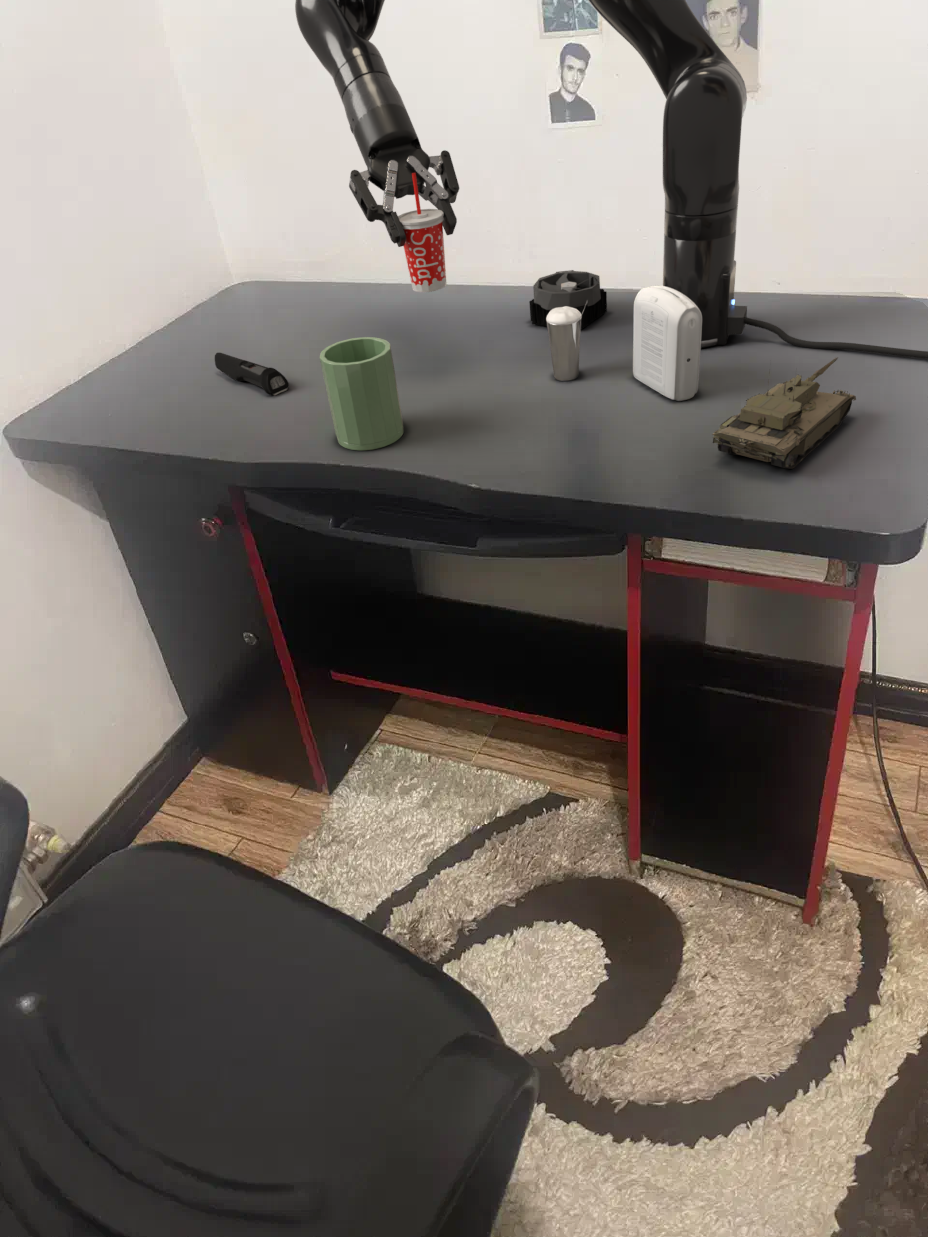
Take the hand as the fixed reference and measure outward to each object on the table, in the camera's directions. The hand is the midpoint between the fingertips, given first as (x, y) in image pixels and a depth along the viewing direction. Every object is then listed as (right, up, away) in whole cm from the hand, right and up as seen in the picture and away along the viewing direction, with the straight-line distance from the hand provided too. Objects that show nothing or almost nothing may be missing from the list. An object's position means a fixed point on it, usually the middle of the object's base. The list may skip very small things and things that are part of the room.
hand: (427, 236), depth 117 cm
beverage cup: (0, -5, +5) cm, 7 cm away
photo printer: (+30, -19, 0) cm, 36 cm away
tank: (+41, -28, -13) cm, 52 cm away
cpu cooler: (+21, -3, +23) cm, 31 cm away
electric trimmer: (-26, -14, +17) cm, 34 cm away
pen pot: (-7, -26, -2) cm, 27 cm away
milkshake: (+19, -16, +6) cm, 26 cm away
